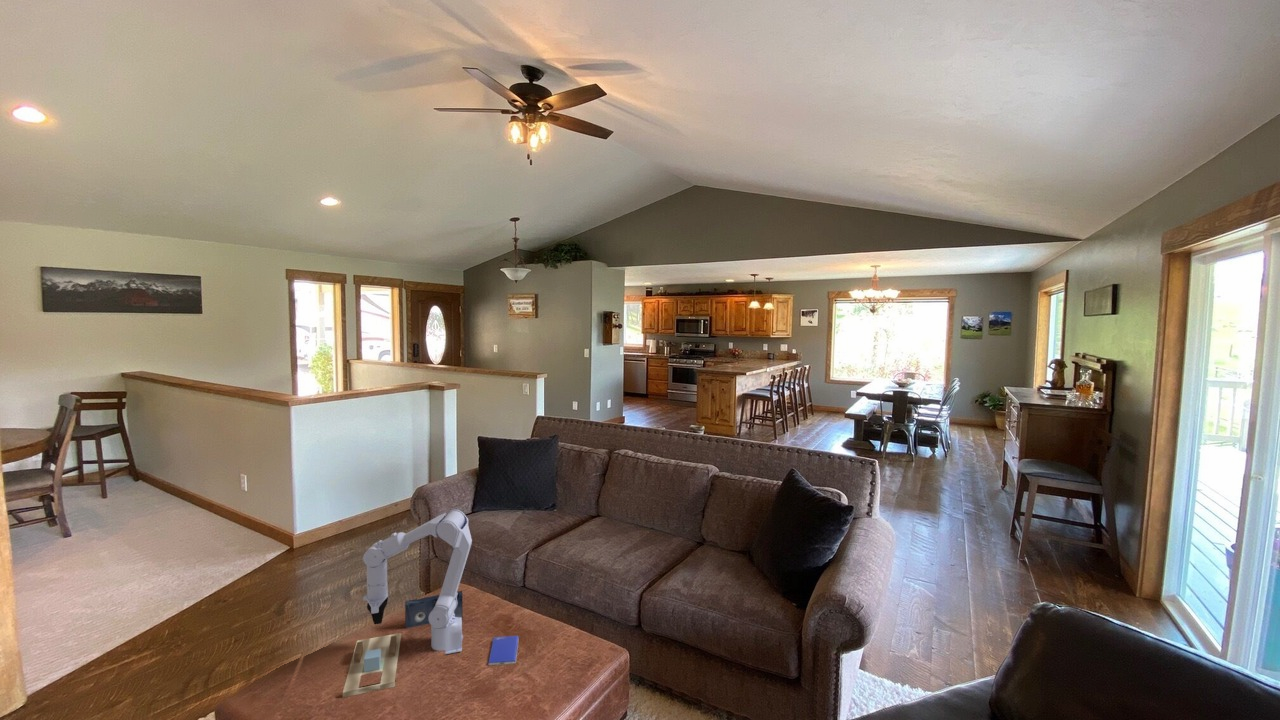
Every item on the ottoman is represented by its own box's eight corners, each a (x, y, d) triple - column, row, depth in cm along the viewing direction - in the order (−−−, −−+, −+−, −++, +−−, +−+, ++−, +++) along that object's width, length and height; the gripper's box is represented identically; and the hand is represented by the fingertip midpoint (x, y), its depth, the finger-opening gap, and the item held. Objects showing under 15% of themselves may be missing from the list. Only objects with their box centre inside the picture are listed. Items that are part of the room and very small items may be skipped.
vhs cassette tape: (462, 617, 180) (462, 590, 180) (462, 621, 178) (462, 594, 177) (405, 628, 173) (404, 600, 172) (405, 633, 170) (404, 604, 170)
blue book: (493, 637, 168) (488, 662, 156) (518, 635, 169) (515, 660, 157) (493, 641, 168) (488, 667, 156) (518, 639, 169) (515, 665, 157)
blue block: (381, 660, 154) (381, 648, 154) (379, 669, 150) (379, 656, 150) (366, 663, 153) (366, 650, 153) (364, 672, 149) (364, 659, 149)
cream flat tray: (401, 637, 168) (401, 624, 168) (394, 686, 146) (394, 671, 145) (357, 644, 164) (356, 631, 163) (342, 697, 141) (342, 682, 141)
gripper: (366, 572, 166) (367, 612, 167) (359, 595, 152) (360, 638, 154) (390, 569, 168) (390, 608, 170) (385, 591, 155) (386, 634, 156)
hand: (378, 622), depth 162 cm, fingers closed
